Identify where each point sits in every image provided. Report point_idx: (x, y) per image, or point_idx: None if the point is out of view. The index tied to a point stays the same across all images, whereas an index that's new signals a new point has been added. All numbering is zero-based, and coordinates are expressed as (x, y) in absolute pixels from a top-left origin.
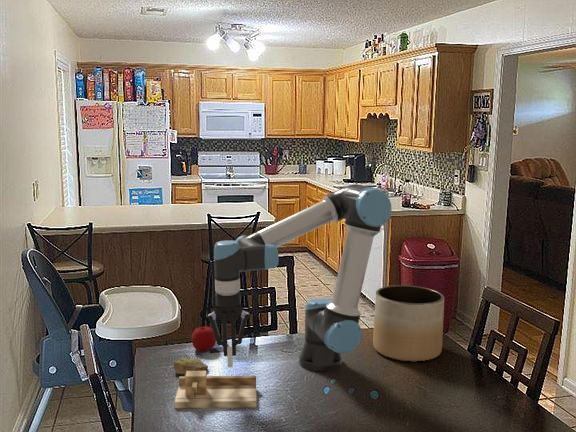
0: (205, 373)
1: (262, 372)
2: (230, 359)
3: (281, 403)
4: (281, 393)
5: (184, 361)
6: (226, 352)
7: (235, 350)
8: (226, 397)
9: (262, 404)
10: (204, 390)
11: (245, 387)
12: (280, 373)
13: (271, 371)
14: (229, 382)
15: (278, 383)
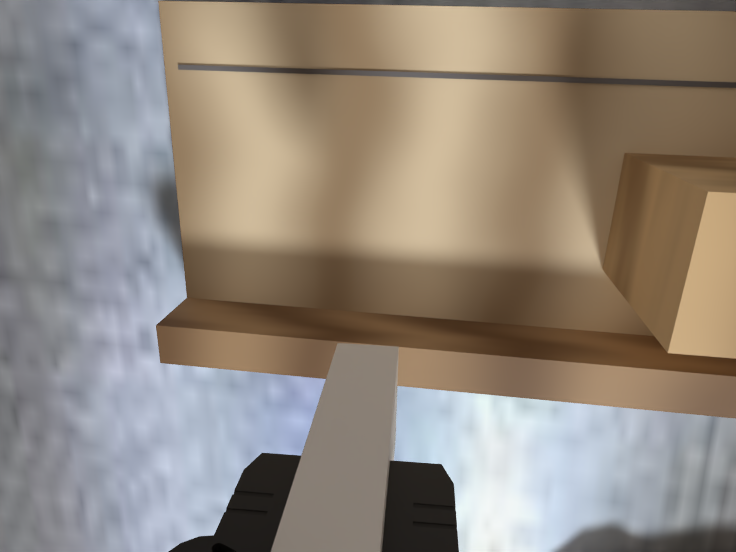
0: (693, 275)
1: (185, 525)
2: (347, 403)
3: (6, 67)
4: (29, 230)
5: None
6: (401, 510)
7: (228, 519)
8: (429, 88)
9: (143, 58)
10: (650, 158)
11: (267, 268)
12: (75, 497)
13: (132, 529)
14: (395, 326)
15: (69, 374)
